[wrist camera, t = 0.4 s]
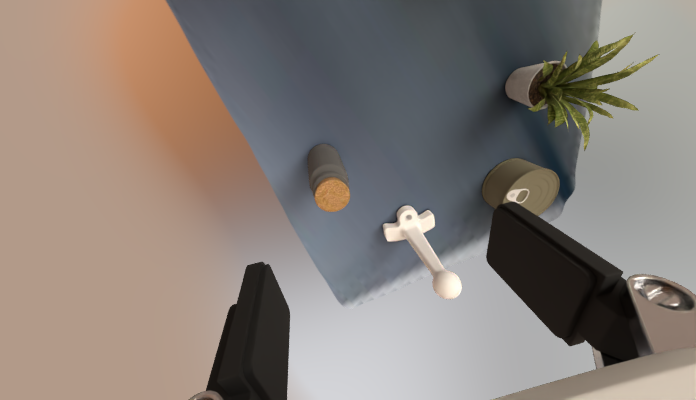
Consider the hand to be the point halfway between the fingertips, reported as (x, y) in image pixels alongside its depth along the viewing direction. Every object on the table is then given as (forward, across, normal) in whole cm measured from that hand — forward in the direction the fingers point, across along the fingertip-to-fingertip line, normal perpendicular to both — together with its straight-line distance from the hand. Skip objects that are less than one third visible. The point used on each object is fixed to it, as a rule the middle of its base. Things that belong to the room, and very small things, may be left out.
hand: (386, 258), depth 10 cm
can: (+36, -37, +23) cm, 57 cm away
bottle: (+37, +1, +8) cm, 38 cm away
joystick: (+36, -14, +26) cm, 47 cm away
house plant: (+37, -37, +4) cm, 52 cm away
